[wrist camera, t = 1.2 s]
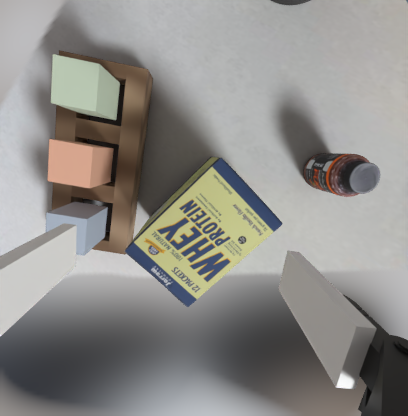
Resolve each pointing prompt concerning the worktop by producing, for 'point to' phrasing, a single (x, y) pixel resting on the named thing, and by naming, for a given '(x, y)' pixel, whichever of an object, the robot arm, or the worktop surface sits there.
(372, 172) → the supplement bottle
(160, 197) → the worktop surface
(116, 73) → the walnut board
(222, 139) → the worktop surface
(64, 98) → the sage rectangular block
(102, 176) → the peach rectangular prism
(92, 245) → the slate upright cuboid
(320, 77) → the worktop surface
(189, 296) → the protein box
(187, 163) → the worktop surface
